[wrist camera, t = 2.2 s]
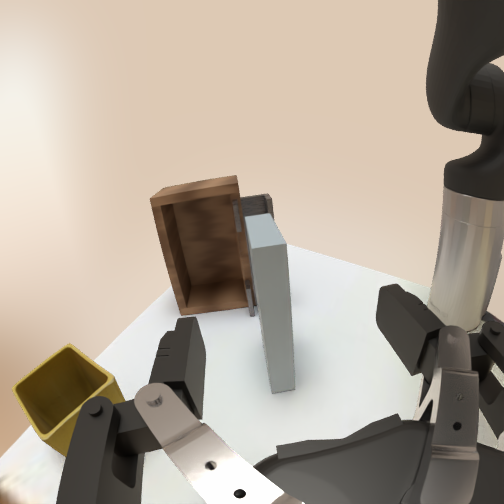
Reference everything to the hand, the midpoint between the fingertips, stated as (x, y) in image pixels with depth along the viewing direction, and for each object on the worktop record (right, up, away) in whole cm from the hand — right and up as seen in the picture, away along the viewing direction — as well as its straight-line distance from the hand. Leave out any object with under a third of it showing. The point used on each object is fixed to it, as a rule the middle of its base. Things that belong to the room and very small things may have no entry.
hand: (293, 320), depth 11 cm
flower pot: (-17, -16, +9) cm, 25 cm away
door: (+1, -10, +18) cm, 20 cm away
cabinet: (-7, -4, +33) cm, 34 cm away
